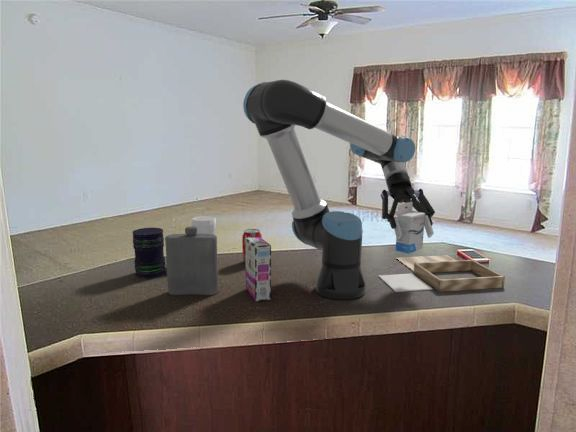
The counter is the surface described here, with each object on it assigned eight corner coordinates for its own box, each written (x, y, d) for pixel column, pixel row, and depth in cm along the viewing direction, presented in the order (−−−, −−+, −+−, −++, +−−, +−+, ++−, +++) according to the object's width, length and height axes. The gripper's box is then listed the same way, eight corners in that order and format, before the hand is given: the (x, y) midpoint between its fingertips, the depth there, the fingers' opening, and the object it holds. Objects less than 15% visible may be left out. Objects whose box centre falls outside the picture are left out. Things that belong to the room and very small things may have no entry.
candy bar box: (272, 300, 127) (271, 245, 123) (255, 302, 125) (254, 246, 122) (260, 286, 137) (260, 235, 134) (245, 289, 135) (244, 237, 132)
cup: (191, 258, 166) (189, 216, 163) (215, 256, 169) (214, 215, 165) (194, 265, 158) (192, 221, 154) (219, 263, 160) (218, 220, 157)
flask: (220, 288, 136) (218, 225, 132) (217, 295, 130) (215, 229, 126) (171, 288, 136) (167, 225, 131) (166, 295, 130) (162, 229, 126)
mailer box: (439, 291, 133) (439, 280, 133) (394, 258, 166) (395, 249, 165) (503, 287, 137) (504, 276, 136) (447, 256, 169) (448, 247, 169)
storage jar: (146, 281, 142) (143, 236, 139) (129, 274, 148) (125, 231, 145) (171, 273, 150) (169, 230, 147) (154, 267, 155) (151, 226, 152)
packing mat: (395, 292, 133) (395, 290, 133) (378, 276, 146) (378, 275, 146) (432, 289, 135) (432, 288, 135) (412, 274, 148) (412, 273, 148)
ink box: (409, 254, 134) (411, 206, 131) (395, 250, 138) (397, 204, 135) (423, 248, 140) (426, 203, 137) (409, 245, 144) (412, 201, 141)
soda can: (239, 264, 159) (239, 232, 156) (247, 258, 165) (246, 227, 163) (258, 266, 157) (257, 233, 154) (264, 260, 163) (264, 229, 161)
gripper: (423, 184, 151) (444, 240, 139) (362, 185, 148) (377, 243, 136) (432, 170, 145) (454, 228, 133) (368, 171, 142) (384, 231, 130)
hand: (415, 236), depth 134 cm, fingers closed on ink box, 9 cm apart
